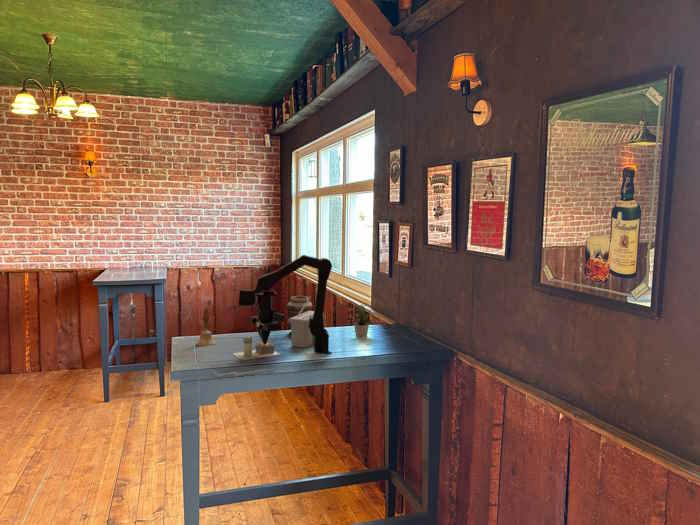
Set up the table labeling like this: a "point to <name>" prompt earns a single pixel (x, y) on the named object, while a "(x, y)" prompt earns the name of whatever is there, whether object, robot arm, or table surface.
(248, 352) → the sage marker
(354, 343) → the table surface
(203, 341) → the hand bell
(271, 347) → the button housing
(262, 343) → the button
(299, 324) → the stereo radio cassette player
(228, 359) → the table surface
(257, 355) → the board
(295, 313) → the apothecary jar
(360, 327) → the house plant
